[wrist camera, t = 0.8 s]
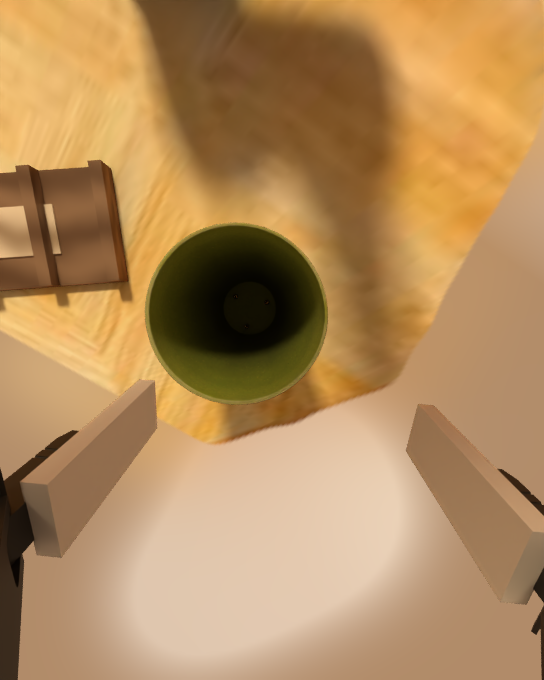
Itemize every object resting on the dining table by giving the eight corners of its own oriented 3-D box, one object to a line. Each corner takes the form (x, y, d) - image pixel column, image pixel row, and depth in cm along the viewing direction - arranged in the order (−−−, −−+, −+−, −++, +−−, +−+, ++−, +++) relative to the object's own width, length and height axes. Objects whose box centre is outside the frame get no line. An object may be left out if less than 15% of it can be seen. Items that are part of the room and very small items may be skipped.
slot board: (-45, 179, 35) (-67, 171, 33) (110, 168, 35) (100, 160, 33) (-19, 292, 37) (-37, 291, 35) (128, 281, 38) (119, 280, 35)
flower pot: (226, 379, 40) (200, 434, 24) (173, 285, 38) (108, 277, 22) (319, 332, 39) (357, 356, 23) (272, 233, 37) (277, 186, 21)
